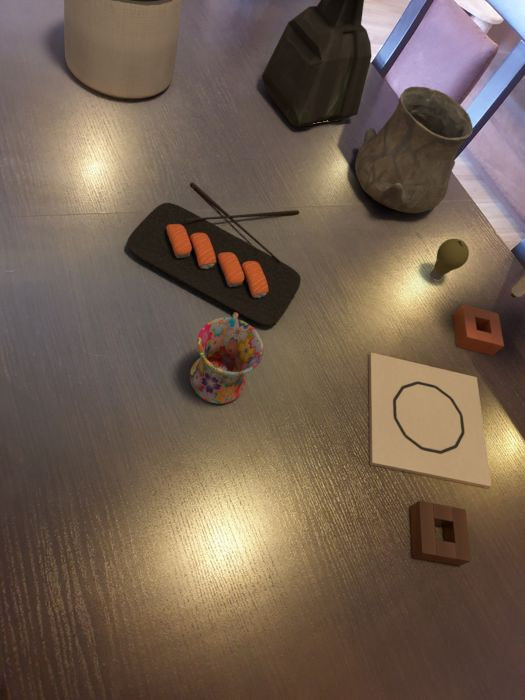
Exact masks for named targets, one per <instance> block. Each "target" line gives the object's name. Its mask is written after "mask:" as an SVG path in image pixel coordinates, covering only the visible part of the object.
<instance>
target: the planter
mask: <svg viewBox="0 0 525 700" xmlns="http://www.w3.org/2000/svg"><path fill="white" fill-rule="evenodd" d="M183 1H184V0H63V14H64V15H63V16H64V17H63V19H64V21H63V22H64V23H63V25H64V57H65V61H66V65H67V68H68V69H69V71H70V72H71V74H72V75H73V76H74V77H75V79H77V80H78V81H79V82H81V84H83V85H84V86H85V87H88V88H89V89H91V90H93V91H95V92H97V93H100V94H102V95H105V96H108V97H111V98H115V99H121V100H141V99H148V98H151V97H154V96H156V95H159V94H161V93H163V92H164V91H166V90H167V89H168V87H170V85H171V83H172V81H173V78H174V73H175V68H176V59H177V50H178V41H179V33H180V27H181V26H180V25H181V17H182V10H183V9H182V8H183Z"/></svg>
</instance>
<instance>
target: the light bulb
mask: <svg viewBox="0 0 525 700" xmlns="http://www.w3.org/2000/svg"><path fill="white" fill-rule="evenodd" d="M469 255H470V251H469V247H468V245H467V244H466V242H465V241H464V240H461V239H459V238H449V239H447V240H444V241H443V242H442V243H441V244H440V245H439V247H438V249H437V251H436V259H435V263H434V267H433V268H432V270H431V271H430V273H429V275H430V277H431V279H433V280H435V281H441V280H442V279H443V277H444V276H445V275H447V274H449V273H450V272H453V271H455V270H458V269H460V268H461V267H463V266H464V265H465V264H466V263H467V261H468V259H469V257H470V256H469Z"/></svg>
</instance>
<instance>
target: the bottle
mask: <svg viewBox="0 0 525 700" xmlns="http://www.w3.org/2000/svg"><path fill="white" fill-rule="evenodd" d="M364 4H365V0H320V1H319V2H318V4H317V5H312V6H311V5H309V6H308V7H306V8H305V9H303V10H302V11H301V12H300V13H298V15H296V16H294V17H293V18H292V19H291V20H289V21H288V22H287V24H286V26H285V28H284V30H283V32H282V33H281V36H280V38H279V39H278V42H277V44H276V46H275V48H274V50H273V51H272V54H271V56H270V58H269V60H268V62H267V64H266V66H265V68H264V69H263V72H262V74H261V79H262V85H263V88H264V91H265V92H266V93H267V95H268V96H269V97H270V98H271V100H272V101H273V102H274V104H275V105H276V106H277V107H278V109H279V110H280V112H282V114H283V115H284V116H285V117H286V118H287V120H288V121H289V122H290V123H291V124H292V125H293V126H295V127H297V128H302V126H303V127H309V126H313V125H312V124H313V123H317V122H323V121H327V120H328V121H332V122H337V121H336V120H338V121H342V120H345V119H348V118H351V117H354V116H357V115H358V113H359V109H360V105H361V102H362V97H363V93H364V89H365V85H366V81H367V76H368V73H369V69H370V66H371V65H370V64H371V62H372V61H371V60H372V58H373V57H372V55H373V54H372V44H371V40H370V37H369V34H368V31H367V29H366V28H365V26H363V25H362V21H363V13H364ZM308 125H309V126H308Z"/></svg>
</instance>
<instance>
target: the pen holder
mask: <svg viewBox="0 0 525 700" xmlns="http://www.w3.org/2000/svg"><path fill="white" fill-rule="evenodd" d="M452 320H453V327H454V328H453V329H454V336H455V345H456V348H459V349H464V350H467V351H471V352H476V353H480V354H484V355H489V356H492V357H494V355H496V354H497V353H498V352H499V351H500V350H501V349H502V348H504V347H505V344H504V337H503V331H502V326H501V325H502V324H501V320H500V314H499V313H497V312H494V311H489V310H486V309H482V308H480V307H479V308H478V307H474V306H472V305H467V304H462V305H461V306H460V307H459V308H458V309H457V310H456V311H455V312H454V313H453V314H452Z"/></svg>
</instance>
